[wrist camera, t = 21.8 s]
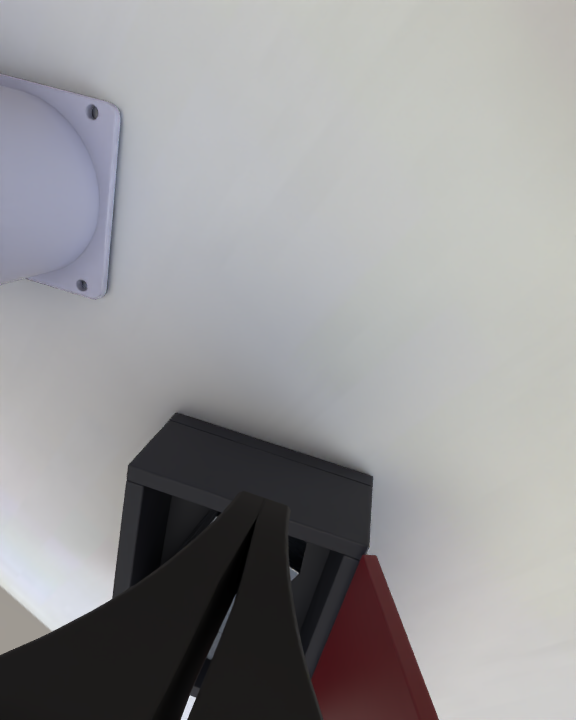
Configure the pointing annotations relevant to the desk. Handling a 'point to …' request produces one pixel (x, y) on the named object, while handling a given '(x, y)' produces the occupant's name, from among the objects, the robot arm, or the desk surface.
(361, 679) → the cover
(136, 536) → the case
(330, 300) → the desk surface
